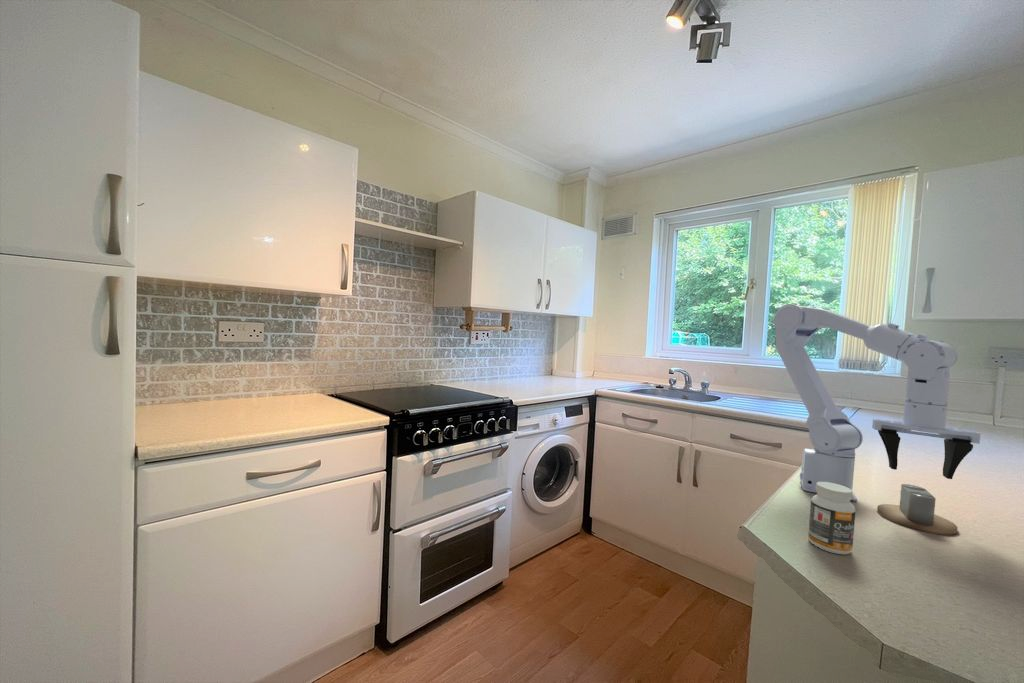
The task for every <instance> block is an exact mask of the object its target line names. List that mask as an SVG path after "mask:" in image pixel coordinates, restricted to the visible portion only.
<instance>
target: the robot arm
mask: <svg viewBox="0 0 1024 683" xmlns="http://www.w3.org/2000/svg"><path fill="white" fill-rule="evenodd" d="M772 324H773V326H774V328H775V348H776V352H777V353H778V355H779V357H780V358H781V360H782V363H783V364H784V366H785V369H786V370H787V373H788V374H789V377H790V379H791V380H792V382H793V384H794V386H795V388H796V390H797V392H798V394H799V396H800V399H801V400H802V402H803V405H804V406H805V409H806V410H807V412H808V416H807V419H806V421H805V422H806V426H807V428H808V438H809V442H810V444H811V445H812V447H814V448H803V450H802V456H801V467H800V468H801V470H800V472H799V481H800V484H801V488H802V490H803V491H806V492H811V493H816V494H817V491H816V483H817V482H830V483H835V484H839V485H842V486H845V487H847V488H849V489H851V490H852V499H851V500H850V501H854V502H857V501H858V498H857V497H856V495H855V494H854V492H853V485H854V475H855V474H854V472H855V462H856V450H857V449H858V448H859V447H861V445H862V443H863V441H864V440H863V438H864V436H863V434H862V431H861V430H860V429H859V428H858V427H857V426H856V425H854V424H853V422H852V421H851V420H850V419H849V417H848V416H847V415H846V414H845V413H844V412H843V411H842V410H840V409H839V408H837V406H836V404H835V402H834V401H833V399H832V396H831V395H830V393H829V392H828V390H827V387H826V386H825V384H824V382H823V380H822V378H821V377H820V375H819V373H818V371H817V369H816V366H815V365H814V363H813V362H812V359H811V358H810V356H809V354H808V352H807V349H806V348H805V346H806V344H807V342H808V341H809V339H810V338H812V336H814V334H815V333H816V332H818V330H820V329H827V328H828V329H831V330H834V331H837V332H839V333H843V334H846V335H847V336H851V337H855V338H857V339H860V340H862V341H863V343H864V345H865V347H866V348H867V349H869V350H872V351H874V352H877V353H878V354H882V355H885V356H886V357H889V358H891V359H894V360H897V361H900V362H903V363H904V364H905V365H906V366H907V367H908V369H907V377H906V386H905V395H904V396H905V398H904V408H903V420H901V421H900V420H889V419H879V418H872V429H873V430H874V431H875V430H876V431H877V432H878V435H879V436H880V439H881V441H882V443H883V446H884V448H885V450H886V451H885V452H886V454H887V460H888V467H889V468H890V469H891V470H897V468H898V454H899V446H900V443H901V438H902V437H900V436H899V433H902V434H909V435H915V436H917V435H918V436H924V437H932V438H940V439H943V443H944V445H943V446H944V459H943V467H942V476H943V477H944V478H946V479H949V480H953V477H954V475H955V472H956V470H957V469H958V467H959V466H960V464H961V463H962V461H963V460H964V458H966V456H967V455H968V454H969V453H970V452H971V451H973V448H974V444H980V443H981V433H980V432H977V431H975V430H968V429H961V428H953V427H948V426H946V425H947V415H948V413H947V412H948V403H949V402H948V401H949V393H950V392H949V391H950V374H951V367H953V366H954V365H955V364H956V362H957V360H958V352H957V350H956V349H955V348H954V347H953V346H952V345H950V344H949V343H946V342H945V341H943V340H928V339H927V338H928V335H926V334H924V333H918V334H915V333H913V332H909V331H906V330H904V329H900V325H899V324H895V323H888V324H885V323H879V324H877V325H876V324H875V325H873V326H871V325H870V324H867V323H864V322H861V321H859V320H856V319H854V318H851V317H848V316H845V315H843V314H841V313H838V312H835V311H832V310H829V309H823V308H818V307H815V306H806V305H805V306H804V305H797V304H795V303H794V304H793V303H787V304H784V305H782V306H780V307H779V308H778V310H777V311H776V313H775V315H774V317H773V319H772Z"/></svg>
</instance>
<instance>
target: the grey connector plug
mask: <svg viewBox="0 0 1024 683" xmlns="http://www.w3.org/2000/svg"><path fill="white" fill-rule="evenodd" d="M899 492H900V493H899V494H900V499H899V505H900V508H899V509H900V511H901V512H902V513H903V514H904V515H905V517H906V518H907V519H908V520H910V521H912V522H914V523H917V524H921V525H925V526H933V522H934V514H935V512H936V509H935V508H936V497H935V496H934V495H933V494H931V492H929V491H928V490H927V489H926V488H923V487H921V486H918V485H914V484H908V483H901V486H900V491H899Z"/></svg>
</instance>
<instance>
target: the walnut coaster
mask: <svg viewBox="0 0 1024 683" xmlns="http://www.w3.org/2000/svg"><path fill="white" fill-rule="evenodd" d="M899 508H900V504H893V503H892V504H890V503H883V504H878V505H877V509H876V510H877V513H878V514H879V515H880V516H881V517H883V518H884V519H887V520H888V521H891V522H892V523H895V524H897V525H900V526H902V527H906V528H910V529H913V530H917V531H921V532H925V533H929V534H933V535H942V536H943V535H944V536H954V535H956V534H957V533H958V526H957V525H956V524H955V523H954V522H953V521H950V520H948V519H946V518H944V517H942V516H940V515H936V514H935V513H934V522H933V526H925V525H921V524H917V523H914V522H912V521H910V520H908V519H907V518H906V517H905V515H904V514H903V513H902V512H901V511H900V509H899Z"/></svg>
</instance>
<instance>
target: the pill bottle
mask: <svg viewBox="0 0 1024 683" xmlns="http://www.w3.org/2000/svg"><path fill="white" fill-rule="evenodd" d="M816 491H817V493H816V494H815V495H813V496H812V497H811V499H810V509H809V510H810V511H809V520H808V521H809V524H808V533H807V534H808V540H809V542H810V543H811V544H812V545H813V544H814V545H813V546H815V547H817V548H818V547H819V548H818V549H821V550H823V551H825V552H829V553H832V554H837V555H849V554H851V553H852V552H853V545H854V533H855V521H856V508H855V506H854V504H853V503H852V502H851V501H852V500H851V499H852V491H853V489H852V490H851V489H849V488H847V487H845V486H842V485H839V484H835V483H830V482H817V483H816Z"/></svg>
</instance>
